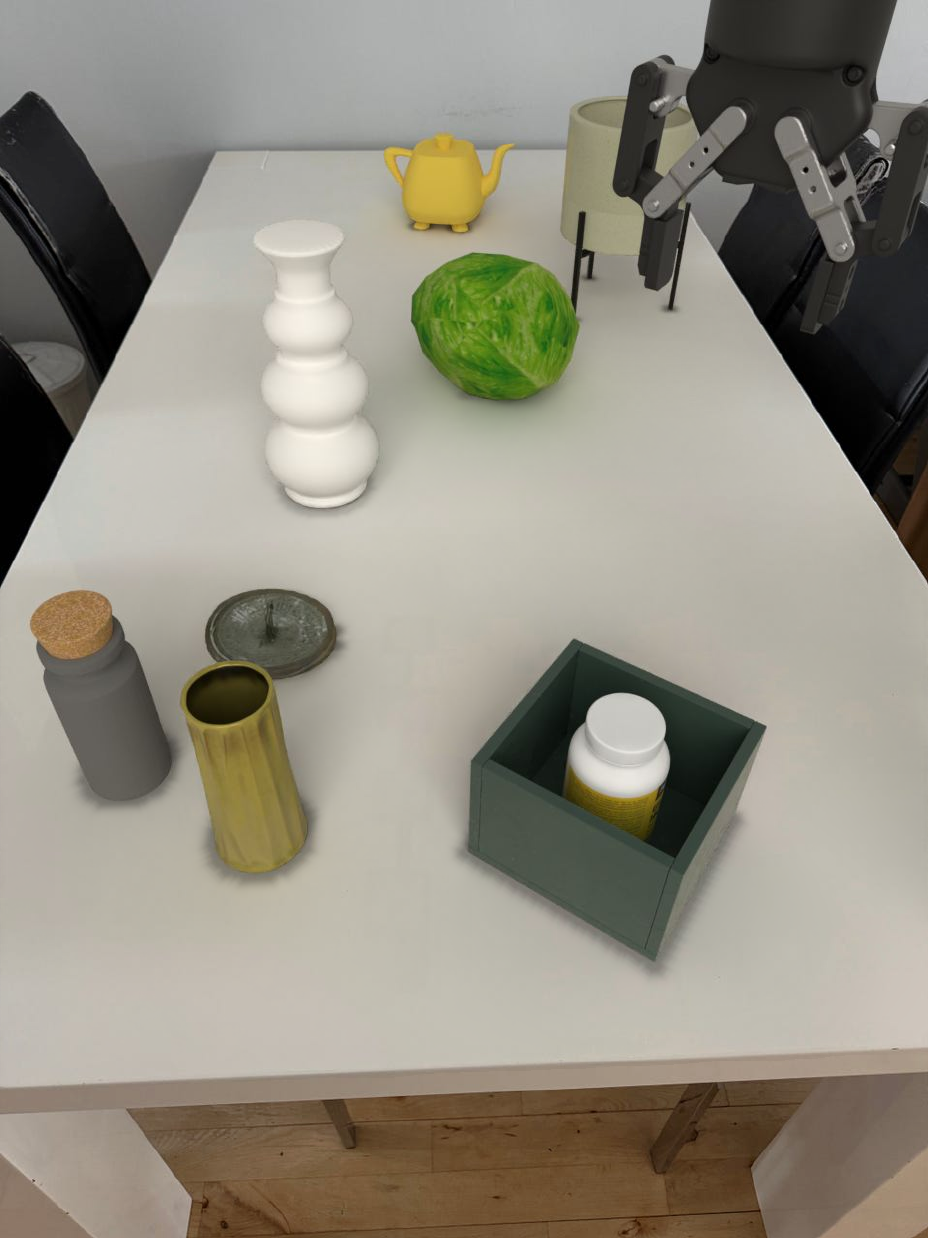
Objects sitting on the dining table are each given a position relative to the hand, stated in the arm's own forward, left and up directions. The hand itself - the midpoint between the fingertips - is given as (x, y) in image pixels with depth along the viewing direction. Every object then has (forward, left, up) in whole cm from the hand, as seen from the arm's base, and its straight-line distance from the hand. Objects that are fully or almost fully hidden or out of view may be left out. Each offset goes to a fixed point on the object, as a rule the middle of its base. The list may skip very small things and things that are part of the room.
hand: (732, 305), depth 48 cm
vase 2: (+26, -30, -32) cm, 51 cm away
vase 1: (+28, +10, -32) cm, 44 cm away
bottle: (+38, +4, -32) cm, 50 cm away
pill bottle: (+5, +11, -32) cm, 34 cm away
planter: (-10, -72, -32) cm, 80 cm away
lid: (+29, -8, -32) cm, 44 cm away
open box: (+5, +11, -32) cm, 34 cm away
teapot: (+11, -102, -32) cm, 108 cm away
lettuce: (+8, -50, -32) cm, 60 cm away
